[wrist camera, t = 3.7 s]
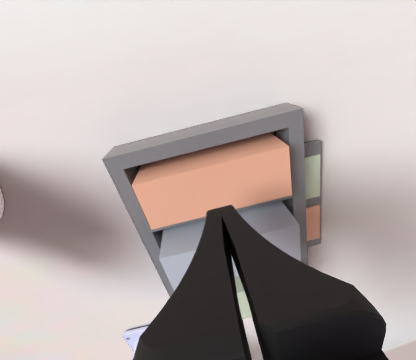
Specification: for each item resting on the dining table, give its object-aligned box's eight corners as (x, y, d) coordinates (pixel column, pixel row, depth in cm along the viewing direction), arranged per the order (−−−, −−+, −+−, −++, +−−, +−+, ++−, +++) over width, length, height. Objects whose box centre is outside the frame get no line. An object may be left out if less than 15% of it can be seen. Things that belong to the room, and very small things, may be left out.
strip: (317, 240, 23) (321, 244, 22) (298, 244, 23) (302, 249, 22) (318, 139, 18) (322, 142, 17) (293, 145, 18) (297, 148, 17)
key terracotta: (274, 174, 18) (292, 195, 15) (157, 203, 18) (151, 229, 15) (270, 132, 16) (289, 146, 13) (141, 164, 17) (131, 185, 14)
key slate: (283, 231, 20) (301, 261, 17) (176, 257, 20) (174, 291, 17) (280, 199, 18) (299, 224, 15) (163, 227, 18) (158, 259, 15)
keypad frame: (296, 268, 24) (308, 289, 22) (181, 295, 25) (181, 319, 22) (286, 102, 16) (303, 108, 14) (114, 146, 16) (102, 159, 14)
